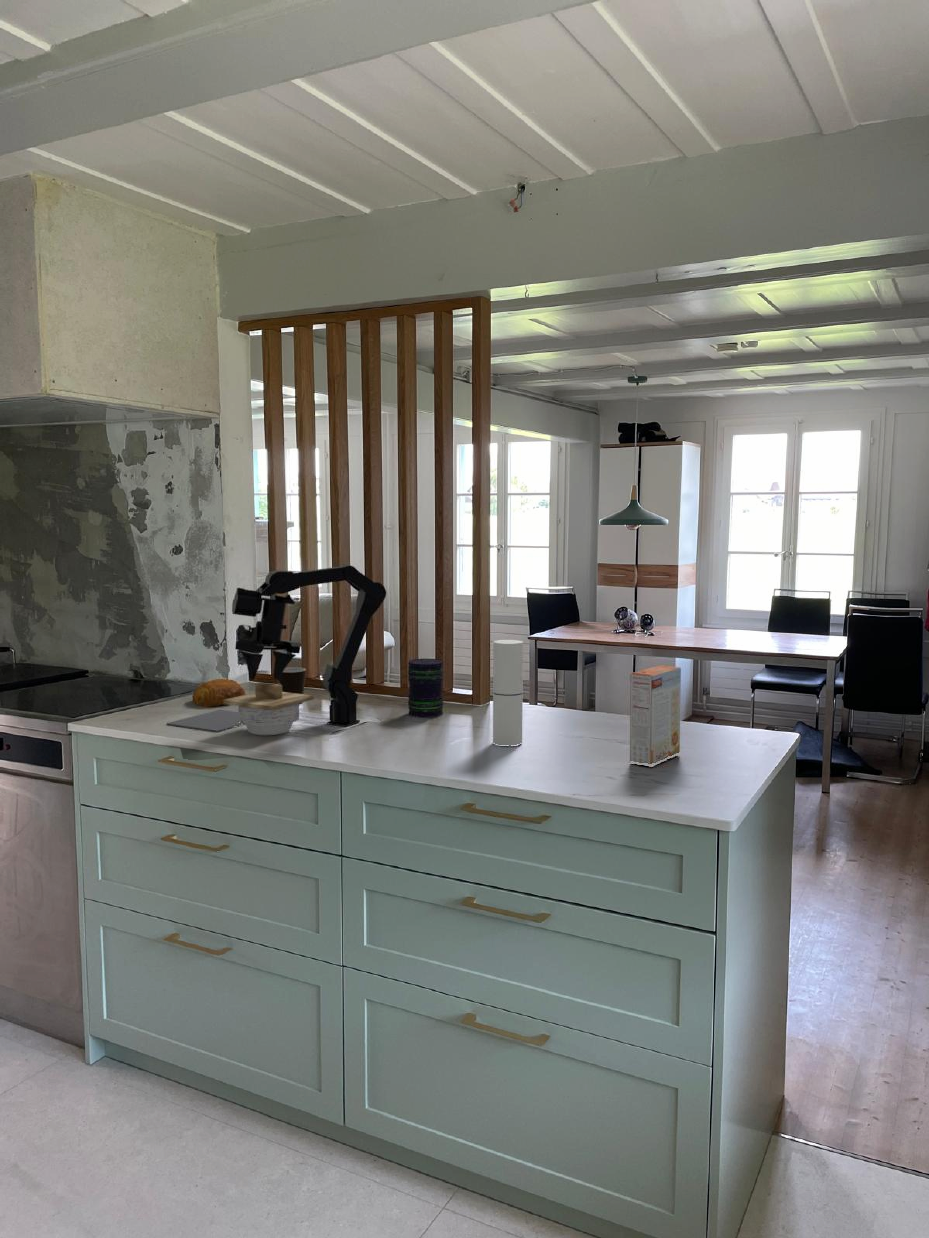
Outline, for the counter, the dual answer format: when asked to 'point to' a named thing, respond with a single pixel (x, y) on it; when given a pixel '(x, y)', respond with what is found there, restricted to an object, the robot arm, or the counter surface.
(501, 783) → the counter surface
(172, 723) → the mat
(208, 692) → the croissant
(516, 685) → the cylindrical container
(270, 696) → the oak lid
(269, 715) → the paper bowls
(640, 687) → the cracker box
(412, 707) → the storage jar
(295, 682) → the coffee mug
